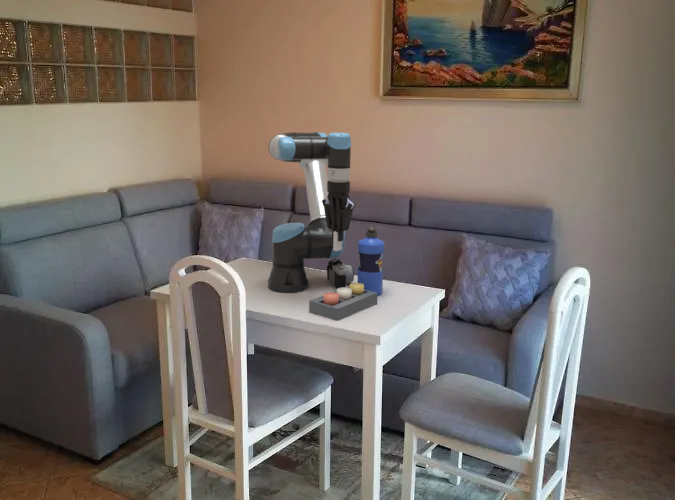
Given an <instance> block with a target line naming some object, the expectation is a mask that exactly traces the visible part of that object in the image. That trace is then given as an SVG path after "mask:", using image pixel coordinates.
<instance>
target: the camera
mask: <svg viewBox="0 0 675 500" xmlns="http://www.w3.org/2000/svg"><path fill="white" fill-rule="evenodd" d="M354 277H355V271H354V267H353V265H351V264H345V263H344V262H343V261H341V260H340V259H339V258H338V259H337V257H334V258H330V260H329V261H328V263H327V265H326V280H327V281H328V282H329V283H330V284H331V285H332V287H333V288H334V289H335V291H337V289H338V288H341V287H347V286H346V285H347V283H354V282H353V281H354V280H355V278H354Z"/></svg>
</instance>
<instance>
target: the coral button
mask: <svg viewBox="0 0 675 500" xmlns="http://www.w3.org/2000/svg"><path fill="white" fill-rule="evenodd" d="M322 296H323V304H327V305H330V306H334V305H336V304H339V294H338V293H335V292H334V291H327V292H324V293H323V294H322Z"/></svg>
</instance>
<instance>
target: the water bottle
mask: <svg viewBox="0 0 675 500" xmlns="http://www.w3.org/2000/svg"><path fill="white" fill-rule="evenodd" d="M377 230H378V228H377V226H375V225H374V224H370V225H368V226H367V227H366V231H365V237H364V238H362V239H360V240H359V241H358V242H357V251H358V261H359V263H358V268H357V283H362V284H364V289H365V290H368V291H372V292H376V293H378V296H377V297H380V296H382V295H383V284H384V283H383V279H384V267H383V259H384V258H383V257H384V254H385V253H384V252H385V241H384V240H381V239H380V238H378V235H379V234H378V233H379V232H378V231H377Z"/></svg>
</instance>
